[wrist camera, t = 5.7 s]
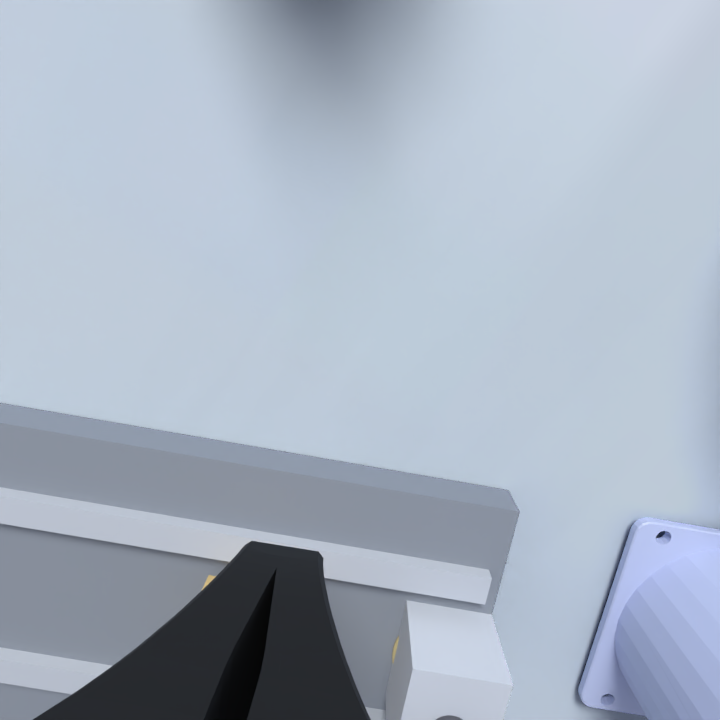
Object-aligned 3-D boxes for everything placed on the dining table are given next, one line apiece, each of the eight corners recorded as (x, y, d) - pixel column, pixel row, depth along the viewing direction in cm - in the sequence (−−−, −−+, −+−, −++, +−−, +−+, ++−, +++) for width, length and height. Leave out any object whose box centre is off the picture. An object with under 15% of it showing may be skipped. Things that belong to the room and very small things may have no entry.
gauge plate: (511, 490, 19) (565, 593, 14) (441, 755, 22) (463, 927, 17) (-25, 398, 19) (-185, 467, 13) (-26, 679, 22) (-159, 829, 16)
